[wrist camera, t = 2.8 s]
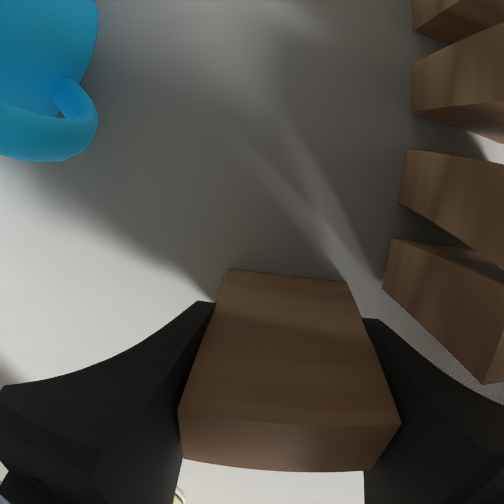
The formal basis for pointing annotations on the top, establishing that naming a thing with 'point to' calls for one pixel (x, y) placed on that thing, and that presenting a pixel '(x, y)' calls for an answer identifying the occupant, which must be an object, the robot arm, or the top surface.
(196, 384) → the domino
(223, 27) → the top surface
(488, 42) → the domino
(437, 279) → the domino
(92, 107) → the mug
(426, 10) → the domino
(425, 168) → the domino
